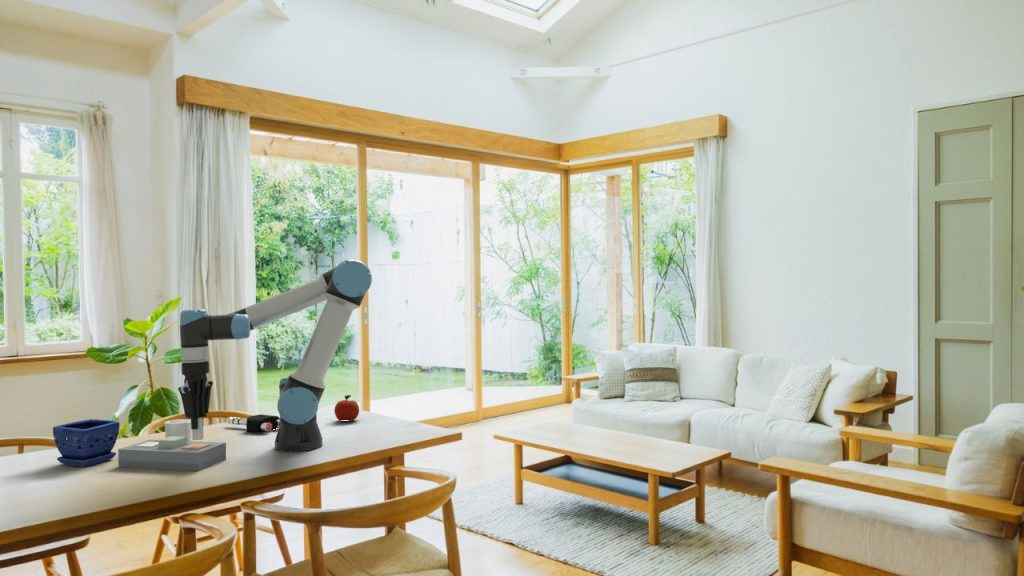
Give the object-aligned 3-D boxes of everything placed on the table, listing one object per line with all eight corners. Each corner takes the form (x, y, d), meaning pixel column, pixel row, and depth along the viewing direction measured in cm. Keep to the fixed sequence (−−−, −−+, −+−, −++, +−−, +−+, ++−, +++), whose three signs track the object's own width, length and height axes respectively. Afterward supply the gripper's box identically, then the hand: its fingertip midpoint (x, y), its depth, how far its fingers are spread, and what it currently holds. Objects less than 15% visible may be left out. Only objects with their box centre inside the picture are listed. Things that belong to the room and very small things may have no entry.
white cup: (181, 455, 218) (180, 424, 218) (159, 454, 219) (159, 423, 219) (197, 449, 225) (197, 419, 225) (176, 449, 227) (175, 418, 227)
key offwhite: (164, 453, 212) (164, 442, 212) (151, 458, 207) (151, 446, 207) (148, 452, 213) (148, 441, 213) (135, 457, 208) (135, 445, 208)
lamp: (263, 420, 247) (214, 415, 258) (264, 435, 247) (215, 429, 258) (286, 415, 257) (238, 410, 268) (286, 429, 257) (238, 424, 268)
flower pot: (122, 458, 215) (121, 420, 215) (83, 469, 202) (83, 429, 202) (90, 455, 219) (90, 418, 219) (50, 466, 207) (50, 426, 207)
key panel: (226, 459, 212) (225, 442, 212) (198, 470, 199) (198, 452, 199) (150, 456, 217) (149, 439, 217) (118, 466, 205) (118, 449, 205)
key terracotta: (210, 455, 209) (210, 444, 209) (198, 460, 203) (198, 448, 203) (194, 455, 210) (194, 443, 210) (182, 459, 204) (182, 447, 204)
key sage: (187, 448, 210) (186, 436, 210) (174, 452, 205) (174, 440, 205) (171, 447, 212) (171, 436, 212) (158, 451, 206) (158, 440, 206)
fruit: (330, 423, 267) (330, 397, 267) (340, 418, 276) (340, 393, 276) (353, 423, 265) (353, 397, 265) (363, 418, 275) (362, 393, 275)
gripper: (198, 358, 214) (201, 434, 214) (169, 363, 201) (172, 444, 201) (219, 358, 212) (222, 434, 212) (191, 363, 199) (194, 444, 200)
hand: (197, 439), depth 207 cm, fingers closed
